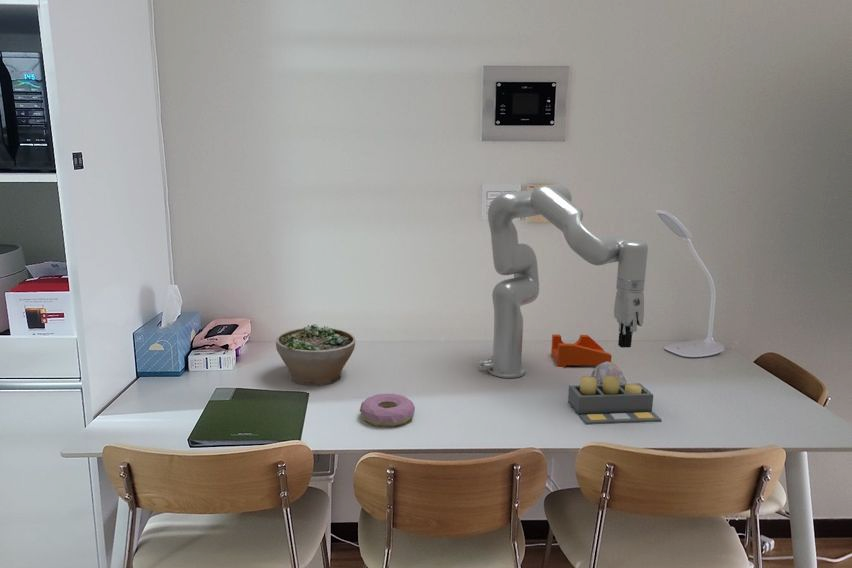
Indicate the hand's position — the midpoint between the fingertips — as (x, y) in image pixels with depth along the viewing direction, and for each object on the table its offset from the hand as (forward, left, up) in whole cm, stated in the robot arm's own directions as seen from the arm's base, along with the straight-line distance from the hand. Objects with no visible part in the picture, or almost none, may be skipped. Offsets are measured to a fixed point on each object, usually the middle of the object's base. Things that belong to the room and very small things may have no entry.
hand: (624, 346), depth 193 cm
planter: (-89, +32, -19) cm, 97 cm away
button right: (+4, 0, -17) cm, 18 cm away
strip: (-3, -8, -19) cm, 21 cm away
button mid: (-3, 0, -15) cm, 15 cm away
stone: (+4, +17, -19) cm, 26 cm away
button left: (-10, 0, -14) cm, 18 cm away
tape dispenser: (+2, +40, -19) cm, 44 cm away
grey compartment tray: (-3, 0, -19) cm, 19 cm away
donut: (-68, -1, -19) cm, 71 cm away
